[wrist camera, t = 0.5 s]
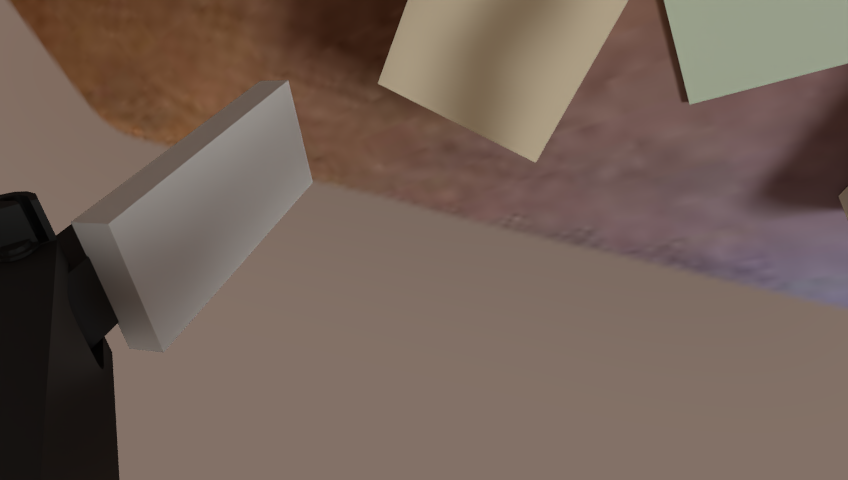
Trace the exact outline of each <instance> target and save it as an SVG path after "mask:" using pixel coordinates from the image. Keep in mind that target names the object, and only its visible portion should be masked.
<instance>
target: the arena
mask: <svg viewBox="0 0 848 480" xmlns="http://www.w3.org/2000/svg"><path fill="white" fill-rule="evenodd" d="M664 3H665V7H666V11H667V15H668V19H669V23H670V27H671V31H672V35H673V39H674V43H675V47H676V51H677V55H678V59H679V64H680V68H681V72H682V76H683V80H684V84H685V88H686V92H687V96H688V100H689V104H694V103H698V102H701V101H705V100H709V99H713V98H717V97H720V96H724V95H728V94H732V93H736V92H740V91H743V90H747V89H751V88H755V87H759V86H763V85H766V84H770V83H774V82H778V81H782V80H785V79H789V78H793V77H797V76H801V75H805V74H808V73H812V72H816V71H820V70H824V69H828V68H831V67H835V66H839V65H843V64H847V63H848V0H664ZM838 197H839V200H840V202H841V205H842V207H843V210H844V212H845V215H846V217H847V220H848V186H847V187H846V189H845V190H844V191H843V192H842V193H841V194H840V195H839V196H838Z"/></svg>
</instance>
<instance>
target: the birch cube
mask: <svg viewBox="0 0 848 480" xmlns="http://www.w3.org/2000/svg"><path fill="white" fill-rule="evenodd" d="M627 2H628V0H408V1H407V4H406V6H405V9H404V12H403V15H402V17H401V20H400V23H399V26H398V29H397V31H396V34H395V37H394V40H393V42H392V45H391V48H390V51H389V54H388V56H387V59H386V62H385V65H384V67H383V70H382V73H381V76H380V79H379V81H378V84H380V85H382V86H384V87H386V88H388V89H390V90H392V91H394V92H396V93H398V94H399V95H401V96H403V97H405V98H407V99H409V100H411V101H413V102H415V103H417V104H419V105H421V106H423V107H425V108H427V109H429V110H431V111H433V112H435V113H437V114H439V115H441V116H443V117H445V118H447V119H449V120H451V121H453V122H455V123H457V124H459V125H461V126H463V127H465V128H467V129H469V130H471V131H473V132H475V133H477V134H479V135H481V136H483V137H485V138H487V139H489V140H491V141H493V142H495V143H497V144H499V145H501V146H503V147H505V148H507V149H509V150H511V151H513V152H515V153H517V154H519V155H521V156H523V157H525V158H527V159H529V160H531V161H533V162H535V163H536V161H537V160H538V158H539V156H540V154H541V153H542V151H543V149H544V147H545V146H546V144H547V142H548V140H549V138H550V137H551V135H552V133H553V131H554V130H555V128H556V126H557V124H558V123H559V121H560V119H561V117H562V116H563V114H564V112H565V110H566V109H567V107H568V105H569V103H570V102H571V100H572V98H573V96H574V95H575V93H576V91H577V89H578V88H579V86H580V84H581V82H582V81H583V79H584V77H585V75H586V74H587V72H588V70H589V68H590V67H591V65H592V63H593V61H594V60H595V58H596V56H597V54H598V53H599V51H600V49H601V47H602V46H603V44H604V42H605V40H606V39H607V37H608V35H609V33H610V32H611V30H612V28H613V26H614V25H615V23H616V21H617V19H618V17H619V16H620V14H621V12H622V10H623V9H624V7H625V5H626V3H627Z"/></svg>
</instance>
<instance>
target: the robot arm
mask: <svg viewBox="0 0 848 480" xmlns="http://www.w3.org/2000/svg"><path fill="white" fill-rule="evenodd" d="M312 183H313V181H312V177H311V173H310V169H309V165H308V160H307V156H306V152H305V148H304V144H303V140H302V135H301V131H300V127H299V123H298V119H297V115H296V111H295V106H294V102H293V98H292V94H291V90H290V86H289V81H288V80H277V81H259V82H258V83H257V84H255V85H254V86H253V87H251V88H250V89H249V90H247V91H246V92H245V93H243V94H242V95H241V96H239V97H238V98H237V99H235V100H234V101H233V102H231V103H230V104H229V105H227V106H226V107H225V108H223V109H222V110H221V111H219V112H218V113H217V114H215V115H214V116H213V117H211V118H210V119H209V120H207V121H206V122H204V123H203V124H202V125H200V126H199V127H198V128H196V129H195V130H194V131H192V132H191V133H190V134H188V135H187V136H186V137H184V138H183V139H182V140H180V141H179V142H178V143H176V144H175V145H174V146H172V147H171V148H170V149H168V150H167V151H166V152H164V153H163V154H162V155H160V156H159V157H158V158H156V159H155V160H154V161H152V162H151V163H150V164H148V165H147V166H145V167H144V168H143V169H142V170H140V171H139V172H137V173H136V174H135V175H133V176H132V177H131V178H129V179H128V180H127V181H125V182H124V183H123V184H121V185H120V186H119V187H117V188H116V189H115V190H113V191H112V192H111V193H109V194H108V195H107V196H105V197H104V198H103V199H101V200H100V201H99V202H97V203H96V204H95V205H93V206H92V207H91V208H89V209H88V210H87V211H85V212H84V213H83V214H81V215H80V216H79V217H77V218H76V219H74V220H73V221H72V222H71V225H70V226H68V227H67V228H66V229H65V230H63V231H62V232H60V233H59V234H58V235H55V233H54V231H53V229H52V227H51V225H50V223H49V221H48V219H47V217H46V215H45V213H44V210H43V208H42V206H41V204H40V202H39V200H38V198H37V196H36V194H35V193H31V192H12V193H7V194H2V195H0V480H119V465H118V450H117V432H116V413H115V395H114V377H113V361H112V351H111V349H110V347H109V345H108V343H107V341H106V339H105V337H104V336H105V335H106V334H107V333H108V332H109V331H110V330H111V329H112V328H113V327H114V326H115V325H116V324H117V323H118V325H119V327H120V329H121V331H122V333H123V336H124V338H125V340H126V342H127V344H128V346H129V348H130V349H138V350H147V351H155V352H164V351H165V350H166V349H167V348H168V347H169V346H170V345H171V343H172V342H173V341H174V340H175V339H176V338H177V337H178V335H179V334H180V333H181V332H182V331H183V329H185V327H186V326H187V325H188V324H189V323H190V322H191V321H192V320H193V318H194V317H195V316H196V315H197V314H198V313H199V311H200V310H201V309H202V308H203V307H204V306H205V305H206V304H207V302H208V301H209V300H210V299H211V298H212V297H213V296H214V294H215V293H216V292H217V291H218V290H219V289H220V288H221V286H222V285H223V284H224V283H225V282H226V281H227V280H228V278H229V277H230V276H231V275H232V274H233V273H234V272H235V270H236V269H237V268H238V267H239V266H240V265H241V264H242V262H243V261H244V260H245V259H246V258H247V257H248V256H249V254H250V253H251V252H252V251H253V250H254V249H255V248H256V246H257V245H258V244H259V243H260V242H261V241H262V240H263V239H264V237H265V236H266V235H267V234H268V233H269V231H271V229H272V228H273V227H274V226H275V225H276V224H277V222H278V221H279V220H280V219H281V218H282V217H283V216H284V214H285V213H286V212H287V211H288V210H289V209H290V208H291V206H292V205H293V204H294V203H295V202H296V201H297V200H298V198H299V197H300V196H301V195H302V194H303V193H304V192H305V191H306V189H307V188H308V187H309V186H310V185H311V184H312Z"/></svg>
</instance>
